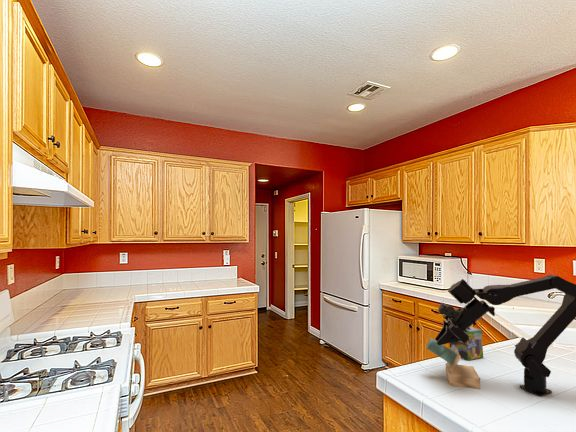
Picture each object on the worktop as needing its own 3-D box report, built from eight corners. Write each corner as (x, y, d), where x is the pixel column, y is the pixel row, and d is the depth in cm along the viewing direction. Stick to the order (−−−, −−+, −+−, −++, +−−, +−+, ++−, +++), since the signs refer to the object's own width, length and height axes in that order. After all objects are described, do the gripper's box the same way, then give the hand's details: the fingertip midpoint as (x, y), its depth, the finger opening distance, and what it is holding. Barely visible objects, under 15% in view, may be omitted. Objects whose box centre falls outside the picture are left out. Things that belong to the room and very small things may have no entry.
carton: (473, 376, 117) (473, 366, 118) (480, 389, 108) (479, 378, 108) (445, 372, 120) (445, 363, 120) (450, 384, 111) (449, 374, 111)
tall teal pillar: (457, 350, 118) (431, 334, 121) (461, 357, 111) (433, 340, 114) (448, 363, 119) (423, 347, 122) (451, 372, 112) (424, 354, 115)
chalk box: (483, 358, 134) (483, 321, 135) (467, 361, 131) (466, 323, 132) (464, 350, 143) (463, 316, 144) (448, 353, 140) (448, 318, 140)
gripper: (448, 291, 125) (417, 318, 128) (457, 301, 107) (421, 332, 110) (472, 313, 122) (440, 340, 125) (485, 327, 104) (447, 358, 107)
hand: (436, 342), depth 117 cm, fingers open, 4 cm apart
